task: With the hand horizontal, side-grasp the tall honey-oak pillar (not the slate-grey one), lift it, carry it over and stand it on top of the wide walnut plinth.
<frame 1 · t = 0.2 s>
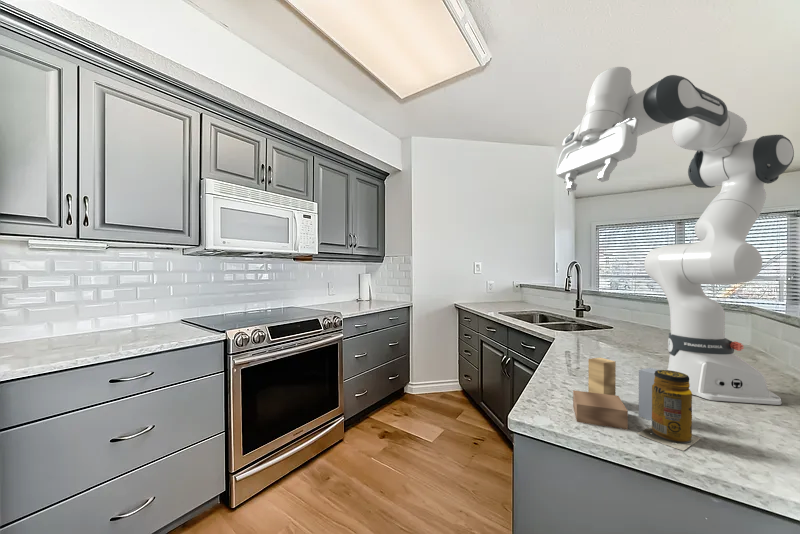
hand: (585, 185, 82), 51 cm above the worktop, tool tilted 15°, fingers open, 8 cm apart
walnut plinth: (598, 418, 75), on the worktop
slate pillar: (654, 418, 74), on the worktop
condiment: (668, 438, 66), on the worktop
oak pillar: (601, 402, 83), on the worktop
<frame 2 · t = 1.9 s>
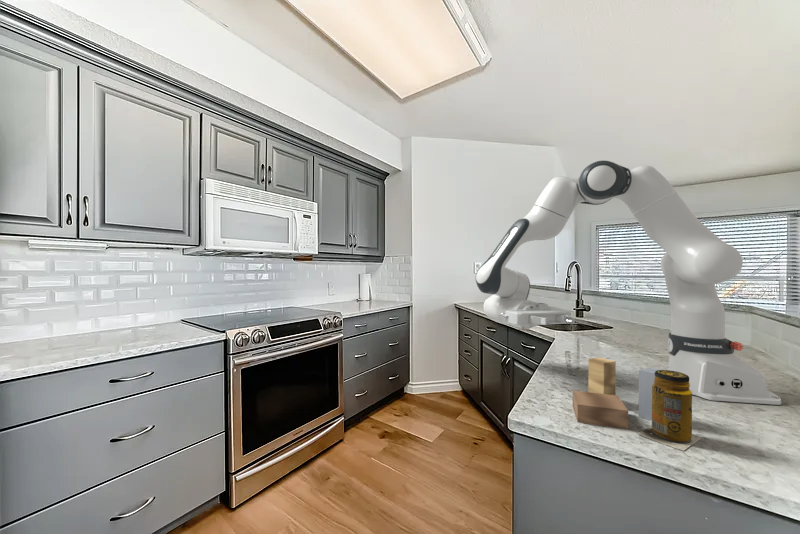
hand: (560, 321, 94), 18 cm above the worktop, tool horizontal, fingers open, 8 cm apart
nothing on the worktop moved.
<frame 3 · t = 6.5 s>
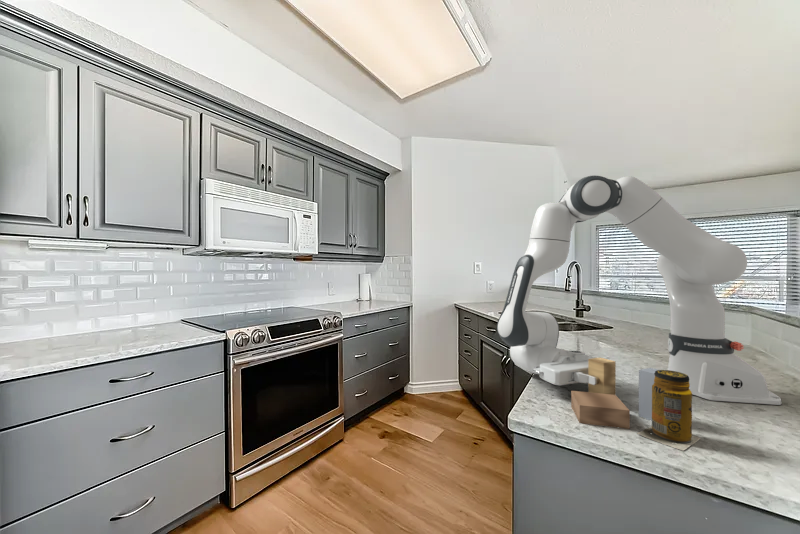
hand: (605, 379, 82), 6 cm above the worktop, tool horizontal, fingers closed on oak pillar, 4 cm apart
oak pillar: (601, 402, 83), on the worktop, touching gripper
everything else where it was.
when the fingers open (10 cm above the worktop, at t = 10.1 s): oak pillar drops 1 cm, resting on walnut plinth.
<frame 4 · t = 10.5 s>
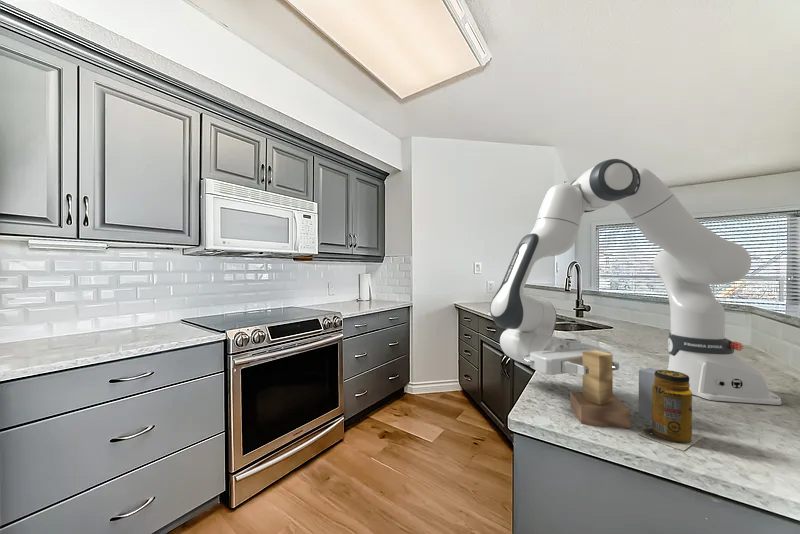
hand: (602, 368, 74), 10 cm above the worktop, tool horizontal, fingers open, 8 cm apart
walnut plinth: (598, 418, 75), on the worktop, touching oak pillar
oak pillar: (597, 399, 75), point 4 cm above the worktop, touching walnut plinth
everything else where it was.
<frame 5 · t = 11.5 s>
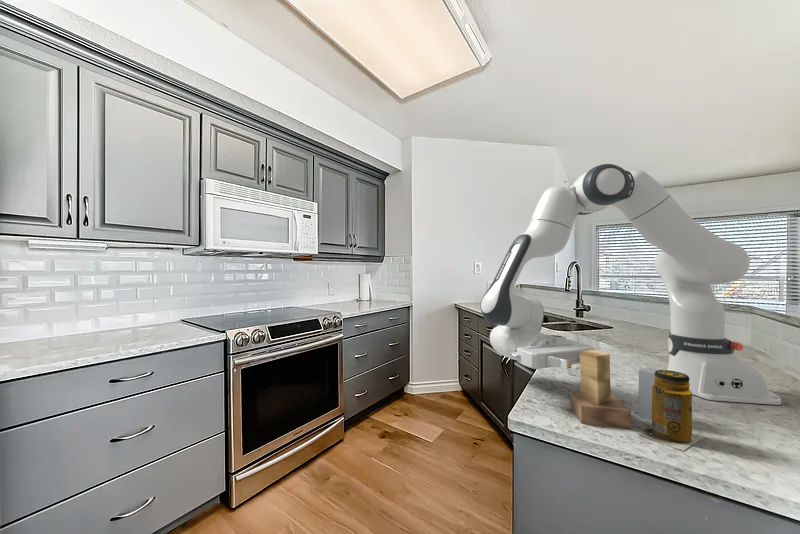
hand: (584, 363, 78), 11 cm above the worktop, tool horizontal, fingers open, 8 cm apart
nothing on the worktop moved.
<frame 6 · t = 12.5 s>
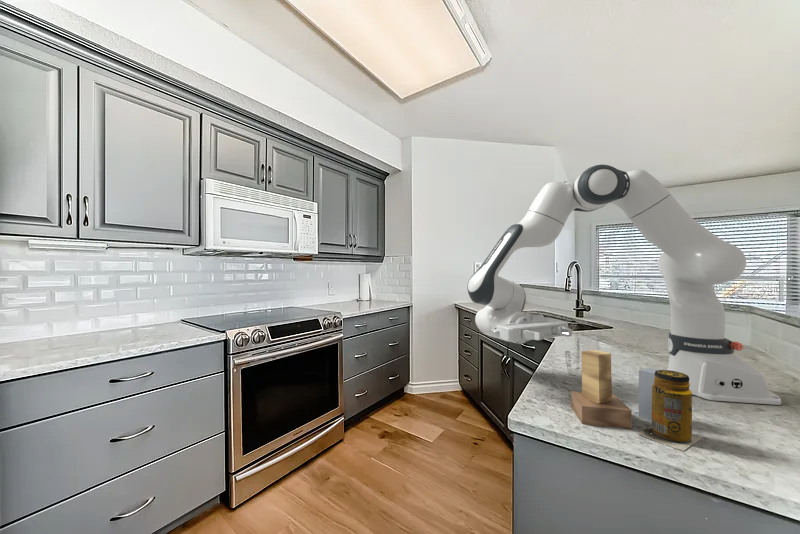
hand: (556, 334, 86), 15 cm above the worktop, tool horizontal, fingers open, 8 cm apart
nothing on the worktop moved.
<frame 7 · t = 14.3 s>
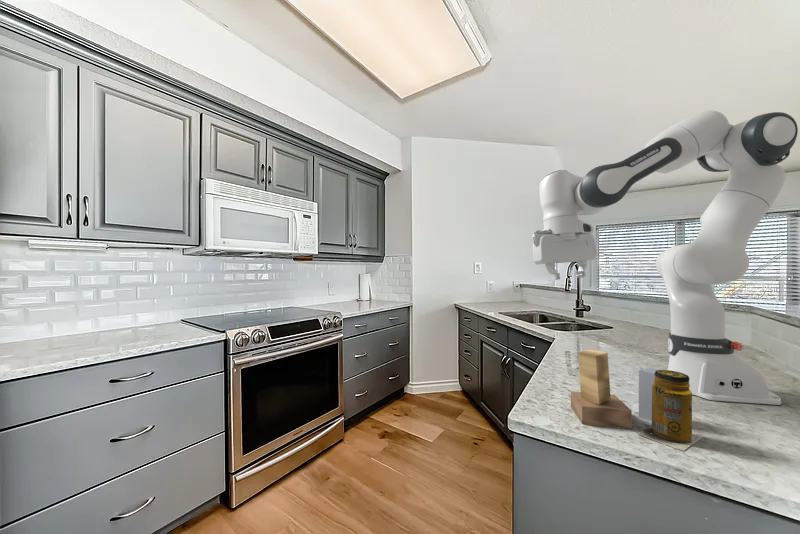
hand: (568, 278, 96), 29 cm above the worktop, tool pointing down, fingers open, 8 cm apart
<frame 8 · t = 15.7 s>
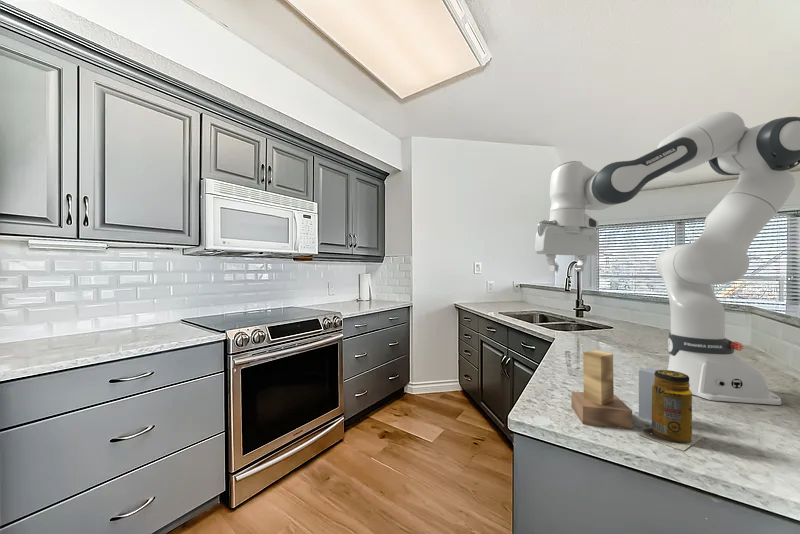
hand: (566, 271, 96), 31 cm above the worktop, tool pointing down, fingers open, 8 cm apart
walnut plinth: (599, 419, 75), on the worktop
oak pillar: (598, 399, 75), point 4 cm above the worktop
everything else where it was.
at the end: oak pillar inside the target area on the walnut plinth (0.2 cm from its centre), point 4.1 cm above the walnut plinth's base; oak pillar tilted 2°; the gripper is holding nothing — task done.
